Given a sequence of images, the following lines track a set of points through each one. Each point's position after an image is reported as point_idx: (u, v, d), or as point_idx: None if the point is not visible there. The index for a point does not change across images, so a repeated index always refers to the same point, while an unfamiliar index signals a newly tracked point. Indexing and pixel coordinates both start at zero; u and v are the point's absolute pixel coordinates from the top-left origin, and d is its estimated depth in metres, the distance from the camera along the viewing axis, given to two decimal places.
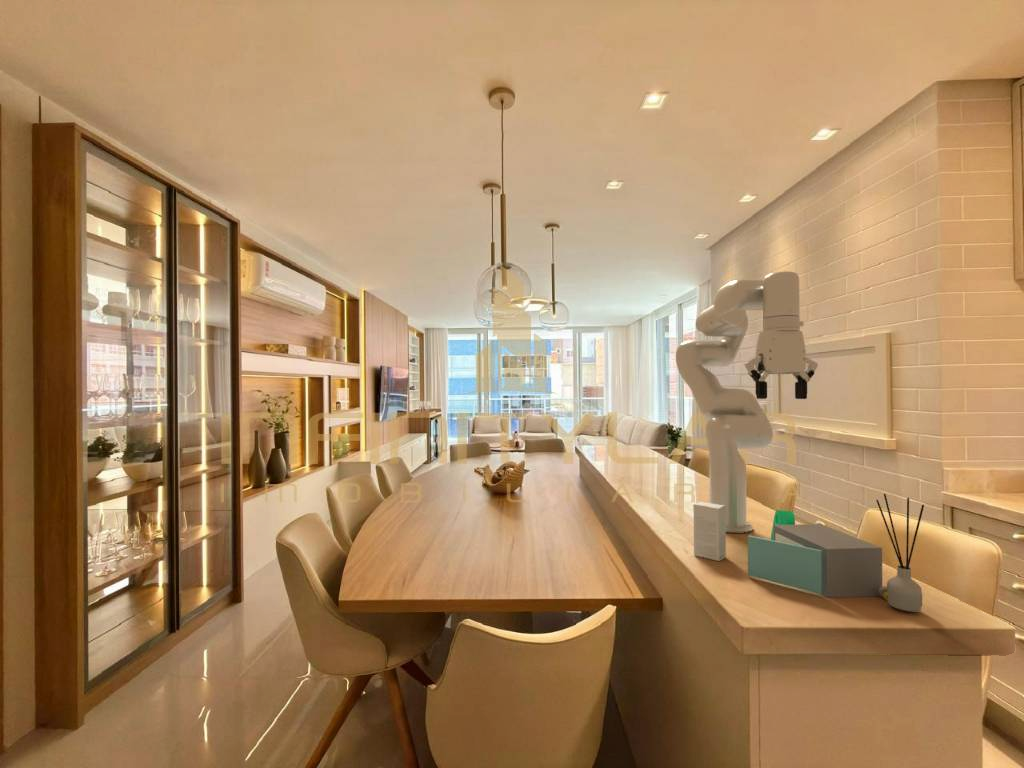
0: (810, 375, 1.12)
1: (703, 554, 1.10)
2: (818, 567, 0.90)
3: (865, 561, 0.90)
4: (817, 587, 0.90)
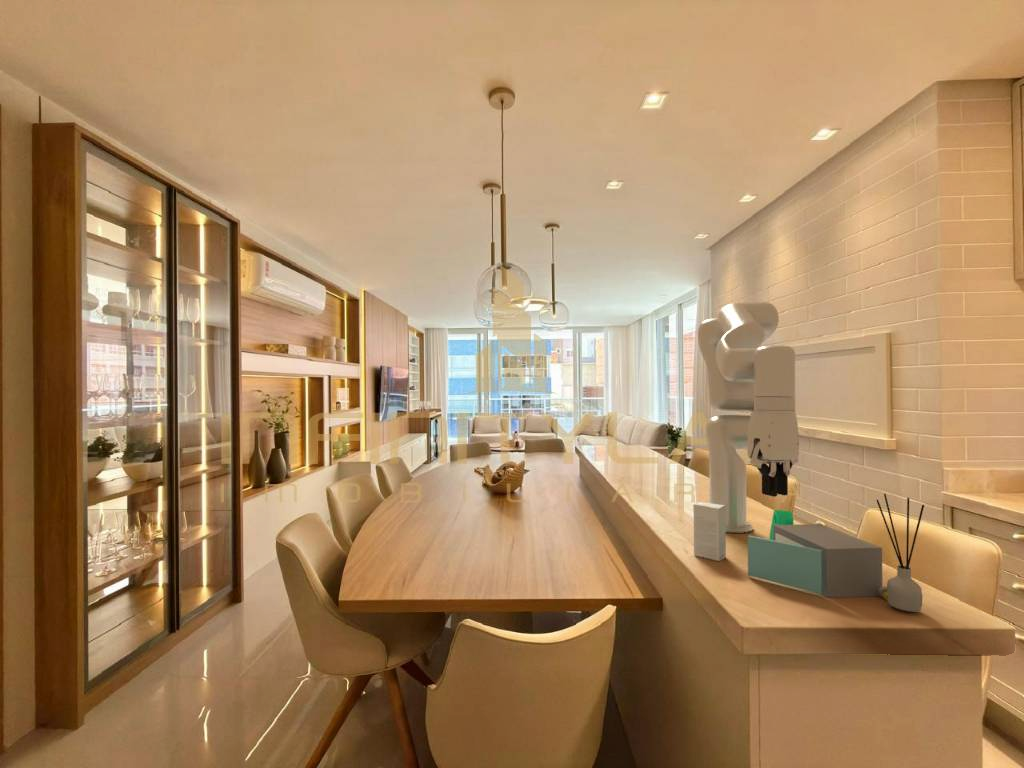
0: None
1: (703, 554, 1.10)
2: (818, 567, 0.90)
3: (865, 561, 0.90)
4: (817, 587, 0.90)
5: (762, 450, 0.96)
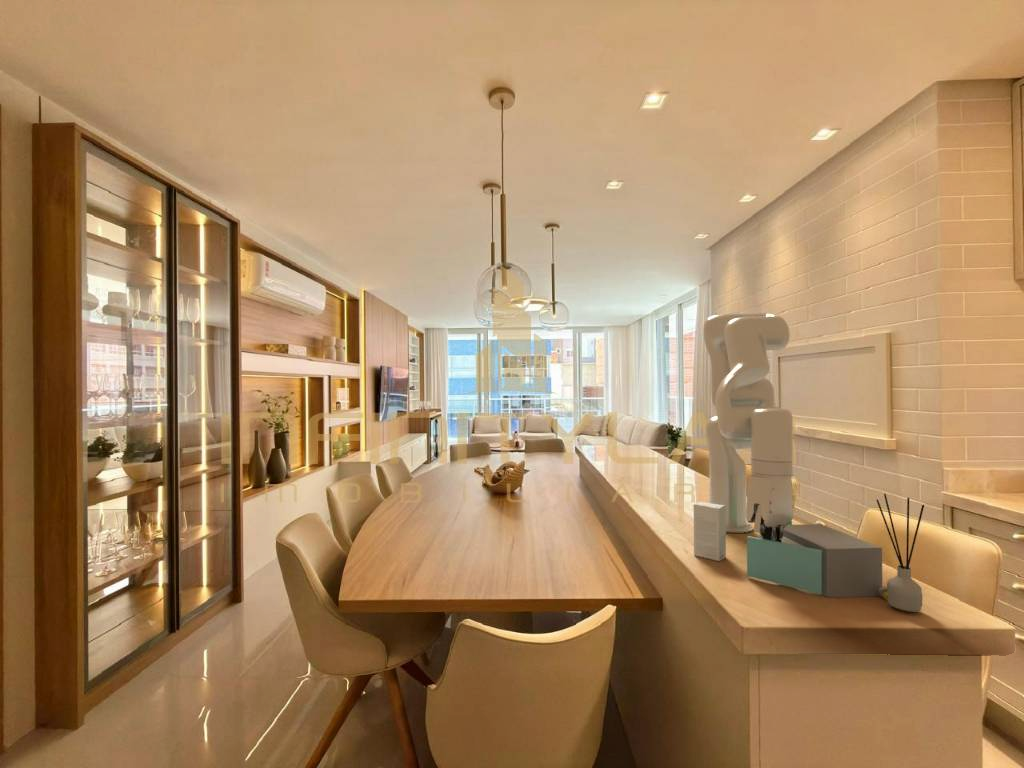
0: None
1: (703, 554, 1.10)
2: (818, 567, 0.90)
3: (865, 561, 0.90)
4: (817, 587, 0.90)
5: (763, 516, 0.95)
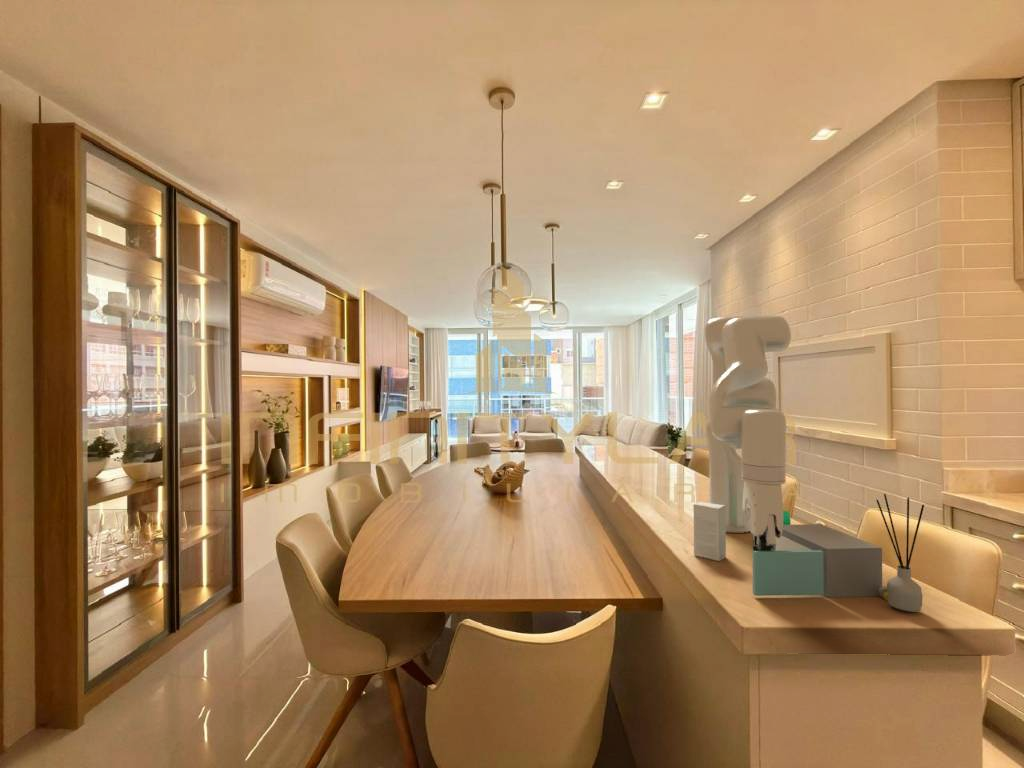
0: None
1: (703, 554, 1.10)
2: (820, 568, 0.89)
3: (865, 561, 0.90)
4: (820, 589, 0.89)
5: (779, 527, 0.87)
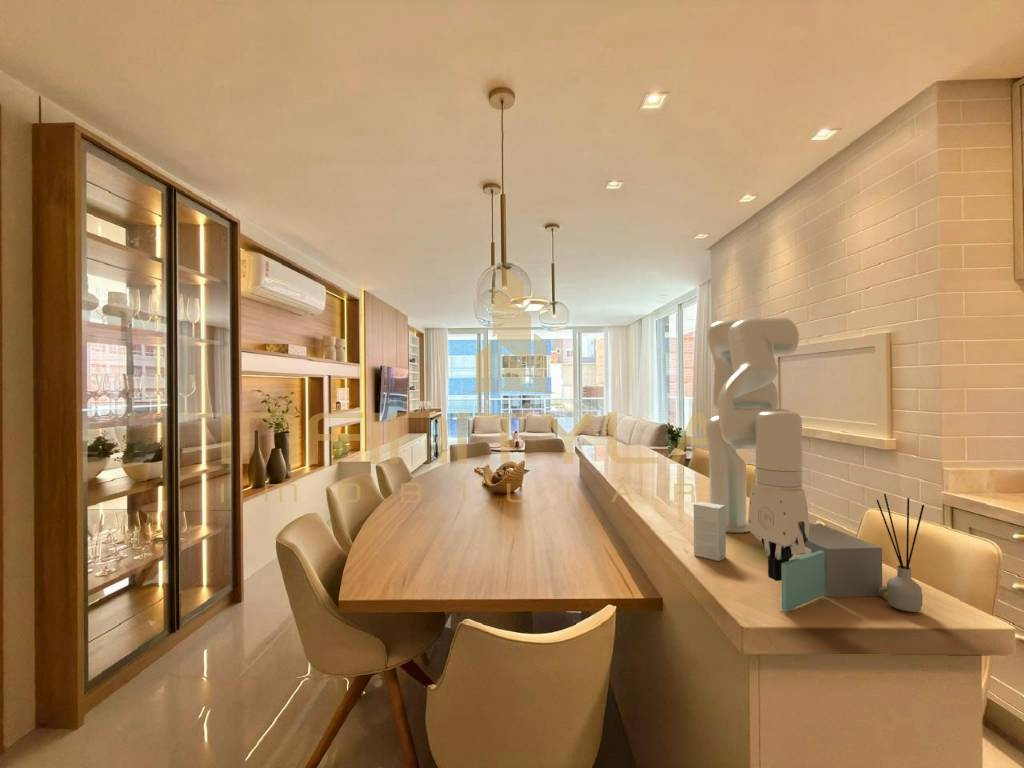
0: None
1: (703, 554, 1.10)
2: (823, 569, 0.89)
3: (865, 561, 0.90)
4: (822, 589, 0.89)
5: (807, 534, 0.83)
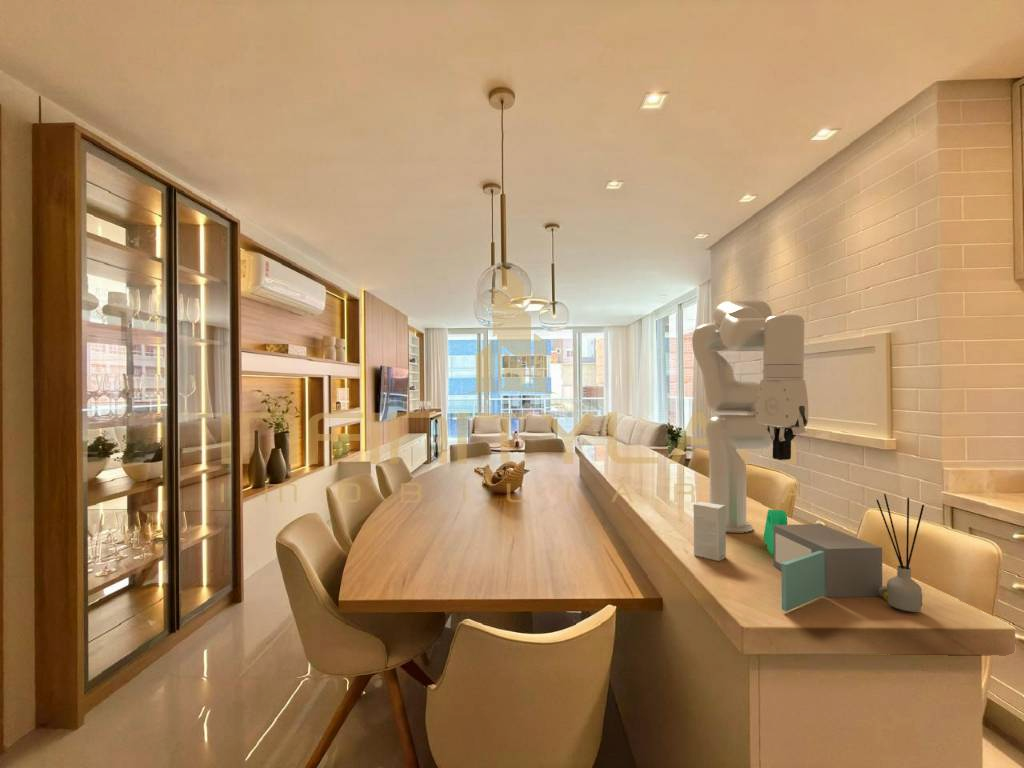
0: None
1: (703, 554, 1.10)
2: (823, 569, 0.89)
3: (865, 561, 0.90)
4: (822, 589, 0.89)
5: (807, 417, 0.98)
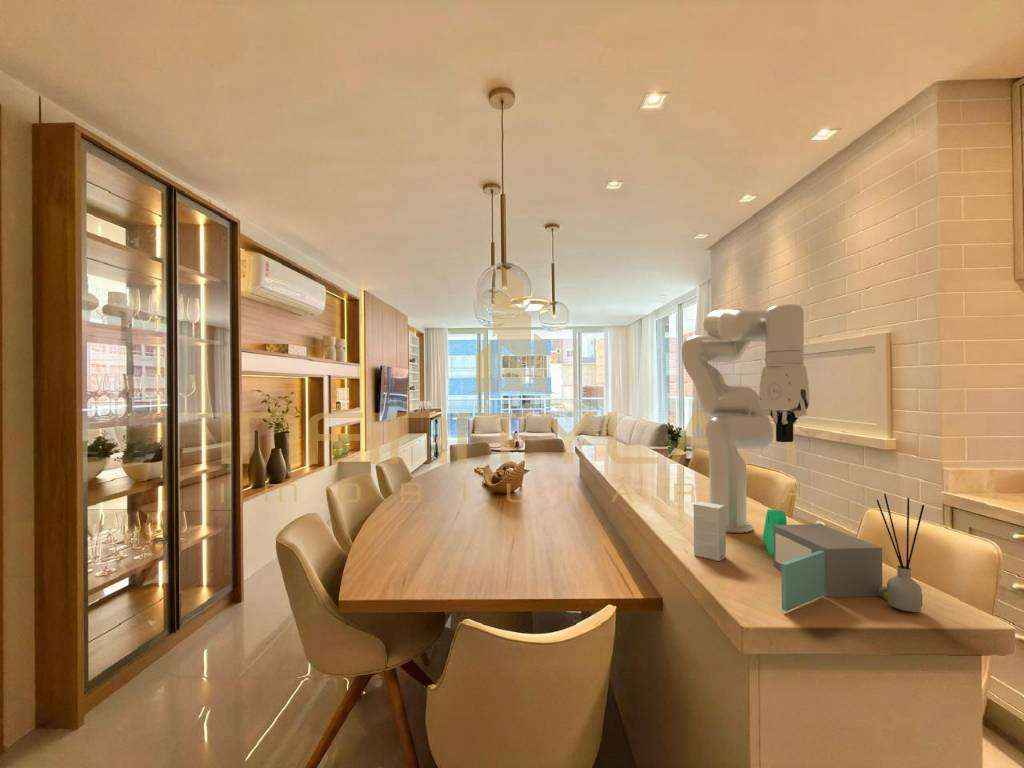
0: None
1: (703, 554, 1.10)
2: (823, 569, 0.89)
3: (865, 561, 0.90)
4: (822, 589, 0.89)
5: (808, 400, 1.03)
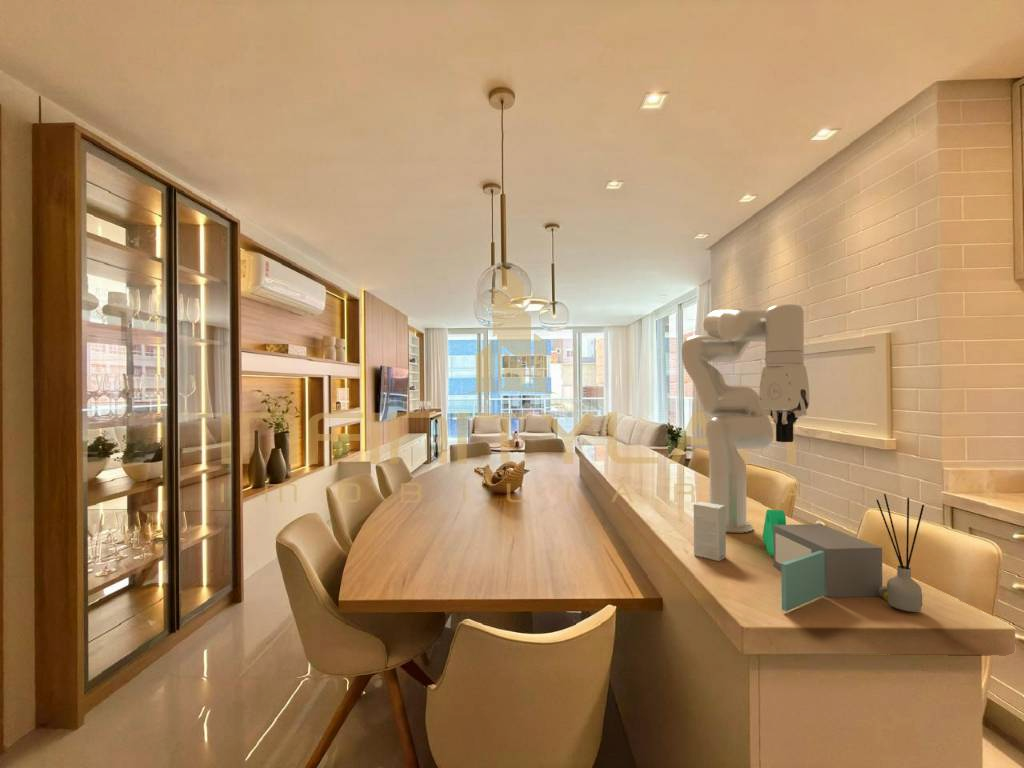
0: None
1: (703, 554, 1.10)
2: (823, 569, 0.89)
3: (865, 561, 0.90)
4: (822, 589, 0.89)
5: (808, 400, 1.03)
